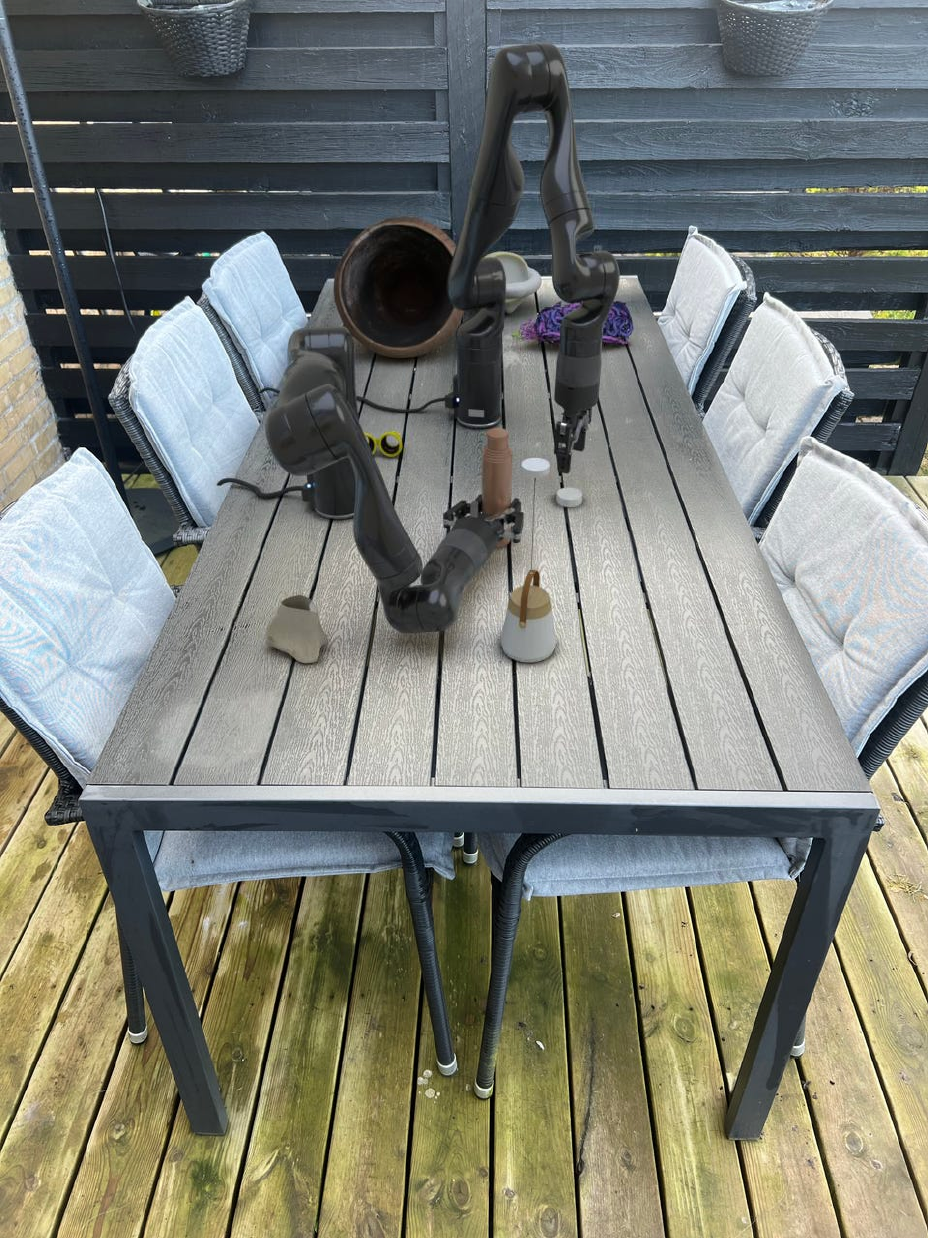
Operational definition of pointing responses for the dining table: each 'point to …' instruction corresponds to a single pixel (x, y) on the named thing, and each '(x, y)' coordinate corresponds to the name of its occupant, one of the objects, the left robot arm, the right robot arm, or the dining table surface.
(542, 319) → the decorative ornament
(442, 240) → the pot
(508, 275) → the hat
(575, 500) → the cap
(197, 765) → the dining table surface
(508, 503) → the bottle
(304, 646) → the grey hollow flared piece
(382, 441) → the opera glasses
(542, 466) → the pendant light
